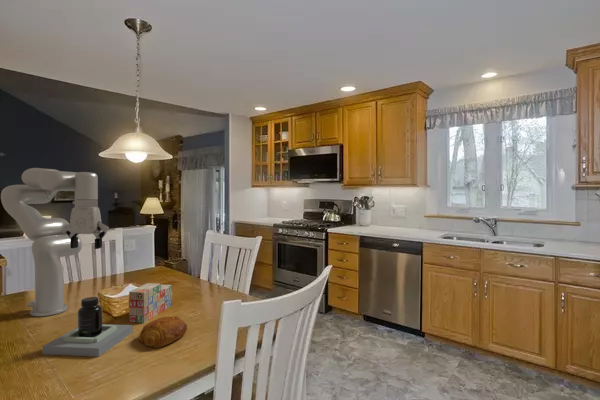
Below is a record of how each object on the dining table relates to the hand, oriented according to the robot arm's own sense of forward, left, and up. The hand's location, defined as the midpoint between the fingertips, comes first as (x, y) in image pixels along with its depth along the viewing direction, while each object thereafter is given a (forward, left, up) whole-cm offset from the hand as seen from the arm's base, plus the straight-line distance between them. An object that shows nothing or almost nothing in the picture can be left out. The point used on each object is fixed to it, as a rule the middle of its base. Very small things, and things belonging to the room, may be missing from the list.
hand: (86, 248), depth 129 cm
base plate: (+15, -18, -28) cm, 37 cm away
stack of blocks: (+21, +10, -29) cm, 37 cm away
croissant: (+37, -13, -29) cm, 49 cm away
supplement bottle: (+15, -18, -26) cm, 35 cm away
